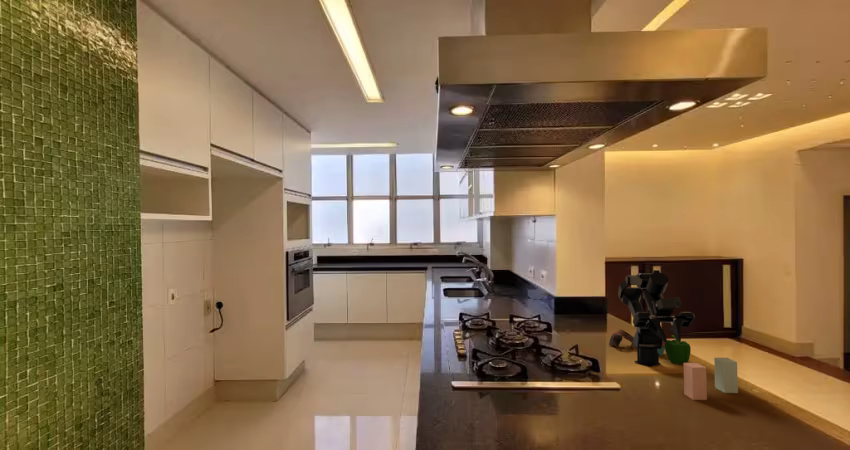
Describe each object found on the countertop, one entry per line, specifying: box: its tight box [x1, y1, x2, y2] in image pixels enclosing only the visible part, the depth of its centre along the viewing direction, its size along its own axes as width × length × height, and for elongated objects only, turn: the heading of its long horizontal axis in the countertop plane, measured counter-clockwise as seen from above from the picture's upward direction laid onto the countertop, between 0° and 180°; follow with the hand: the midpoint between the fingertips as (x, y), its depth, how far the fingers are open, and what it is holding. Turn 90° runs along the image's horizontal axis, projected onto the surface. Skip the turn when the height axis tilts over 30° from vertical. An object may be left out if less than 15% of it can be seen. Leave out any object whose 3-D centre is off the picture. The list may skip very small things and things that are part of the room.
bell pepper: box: [664, 334, 692, 365], centre depth 160 cm, size 8×8×10 cm
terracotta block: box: [683, 362, 708, 401], centre depth 127 cm, size 4×4×10 cm
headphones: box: [608, 328, 635, 349], centre depth 182 cm, size 12×10×8 cm
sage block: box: [713, 357, 739, 394], centre depth 132 cm, size 4×4×10 cm
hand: (672, 341), depth 139 cm, fingers open, 4 cm apart
